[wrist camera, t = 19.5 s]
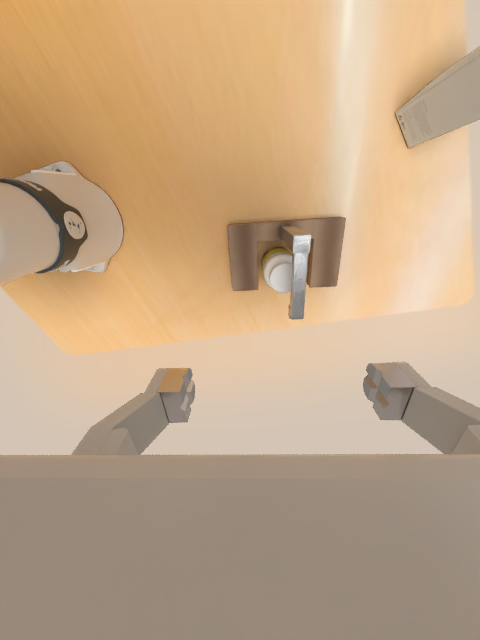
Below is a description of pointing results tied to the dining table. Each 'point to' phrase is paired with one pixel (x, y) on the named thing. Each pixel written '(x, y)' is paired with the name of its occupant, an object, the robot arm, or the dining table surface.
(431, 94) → the skincare box
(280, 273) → the pill bottle
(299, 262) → the hook arm
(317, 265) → the cutout shelf
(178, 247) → the dining table surface
